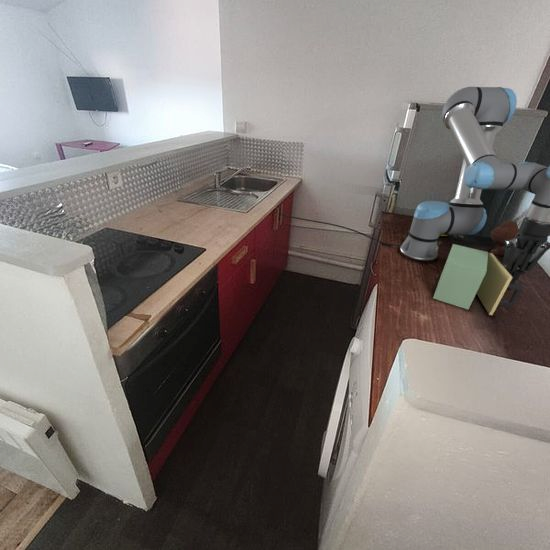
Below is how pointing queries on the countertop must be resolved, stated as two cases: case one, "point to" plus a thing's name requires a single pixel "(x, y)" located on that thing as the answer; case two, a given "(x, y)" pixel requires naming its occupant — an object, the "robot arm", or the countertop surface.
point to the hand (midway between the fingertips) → (505, 287)
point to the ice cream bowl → (503, 235)
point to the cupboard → (461, 276)
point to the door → (496, 286)
